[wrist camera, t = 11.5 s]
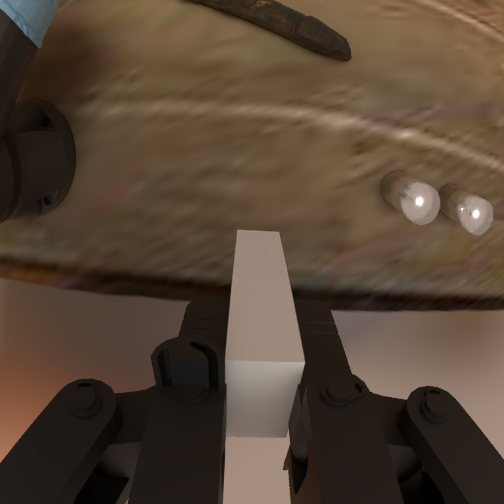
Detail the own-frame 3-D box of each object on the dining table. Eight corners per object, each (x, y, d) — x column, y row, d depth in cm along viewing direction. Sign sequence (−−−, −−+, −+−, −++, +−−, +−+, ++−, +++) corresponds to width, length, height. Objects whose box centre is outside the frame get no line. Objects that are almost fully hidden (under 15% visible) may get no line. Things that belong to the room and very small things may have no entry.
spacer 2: (433, 211, 35) (462, 232, 29) (440, 180, 33) (472, 196, 27) (457, 216, 35) (487, 237, 29) (464, 187, 34) (496, 203, 27)
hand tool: (178, 1, 26) (167, -12, 22) (197, -26, 24) (189, -42, 20) (332, 80, 30) (343, 76, 26) (350, 52, 28) (364, 45, 24)
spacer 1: (377, 201, 35) (401, 221, 28) (384, 167, 33) (411, 181, 27) (407, 206, 35) (434, 227, 29) (414, 174, 33) (444, 189, 27)
